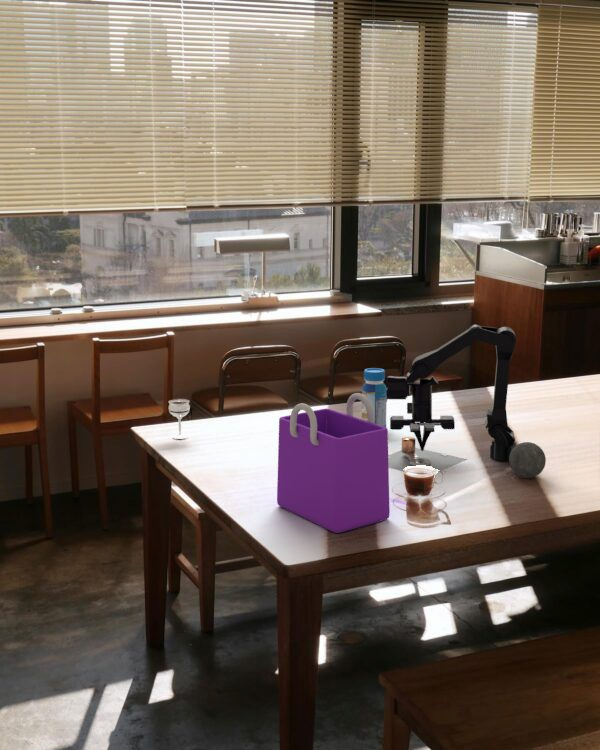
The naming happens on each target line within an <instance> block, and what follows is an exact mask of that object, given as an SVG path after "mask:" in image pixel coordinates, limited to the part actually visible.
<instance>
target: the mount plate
mask: <svg viewBox="0 0 600 750" xmlns="http://www.w3.org/2000/svg"><path fill="white" fill-rule="evenodd" d="M404 454H405V453H402V449H401V450H398V451H396V452H394V453H393V452H392V453H390V454H388V467H389V468H390V469H392V470H398V471H402V472H404V471H403V469H404V468H405V467H407V466H410V460H409V459H408V458H407V457H406V456H405V455H404ZM415 454H416V455H417V456H418V457H419V458H421V459H427V460H429V461H431V466H432V467H433V468H435V469H438V470H440V471H439V472H441V471H443V470H445V469H448V468H450V467H453V466H455V465H457V464H459V463H461V462H465V461H466V460H467V458H464V457H458V456H454V455H451V454H450V455H449V454H447V453H441V452H437V451H432V450H428V449H424V450H423V451H421V448H420V447H415Z"/></svg>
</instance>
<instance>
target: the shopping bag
mask: <svg viewBox="0 0 600 750" xmlns="http://www.w3.org/2000/svg"><path fill="white" fill-rule="evenodd" d="M356 400H358V401H360V402H361V403H362V402H363V404H364V405H365V407H366V410H367V417H368V421H365V420H362V418H359V417H356V416H354V403H355V401H356ZM345 409H346V413H343V412H340V411H337V410H335V409H331V408H321V409H315V410H313V409H312V407H311V406H310V405H308V404H307V403H303V402H302V403H298V404H296V405H294V407H293V408H292V410H291V413H290V415H284V416H281V417H279V418H278V419H279V420H278V446H277V447H278V449H277V451H278V452H277V453H278V454H277V455H278V456H277V486H276V487H277V488H276V489H277V490H276V503H277V505H278V506H279V507H281V508H282V509H284V510H287V511H289V512H291V513H293V514H295V515H297V516H299V517H301V518H303V519H305V520H308V521H309V522H311V523H314V524H316V525H318V526H320V527H322V528H323V529H326V530H328V531H330V532H332V533H336V534H340V533H343V532H344V533H345V532H348V531H351V530H353V529H357V528H362V527H366V526H368V525H369V526H370V525H372V524H375V523H379V522H383V521H386V520H388V519H389V518H390V481H389V479H390V475H389V467H388V455H389V438H388V437H389V431H388V427H387V426H386V427H383V426H380V425H377V424H374V411H373V407H372V405H371V403H370V401H369V400H368V398H367V397H366V396H364V395H363V393H359V392H357V393H356V392H355V393H353V394H351V395H350V396H349V397H348V398H347V402H346V408H345ZM301 411H303V412H301Z"/></svg>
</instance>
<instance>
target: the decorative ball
mask: <svg viewBox="0 0 600 750" xmlns="http://www.w3.org/2000/svg"><path fill="white" fill-rule="evenodd" d="M546 461H547V458H546V454H545V452H544V451H543V449H542V447H541V446H539V445H538V444H536V443H534V442H530V441H526V442H525V441H524V442H520V443H518V444H516V446H515V447H514V448H513V449H512V451H511V453H510V456H509V462H508V463H509V467H510V469H511V470H512V471H513V473H514V474H515V475H516V476H518V477H521V478H524V479H531V478H535V477H537V476H540V475H541V473H542V472H543V471H544V469H545V466H546Z"/></svg>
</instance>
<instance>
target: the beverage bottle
mask: <svg viewBox="0 0 600 750" xmlns="http://www.w3.org/2000/svg"><path fill="white" fill-rule="evenodd" d="M385 379H386V370H385V369H383V368H379V367H378V368H377V367H370V368H365V369H364V371H363V380H364V381H365V382H364V383H363V385H362V388H361V394H363V395H364V396H366V397H367V398H368V400H369V401H370V403H371V405H372V407H373V411H374V424H377V425H380V426H383V427H386V428H387V402H388V399H387V385H386V384H385V383H384V381H385ZM361 419H362V420H365V421H368V417H367V410H366V407H365V405H364V404H363V402H362V401H361Z"/></svg>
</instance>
